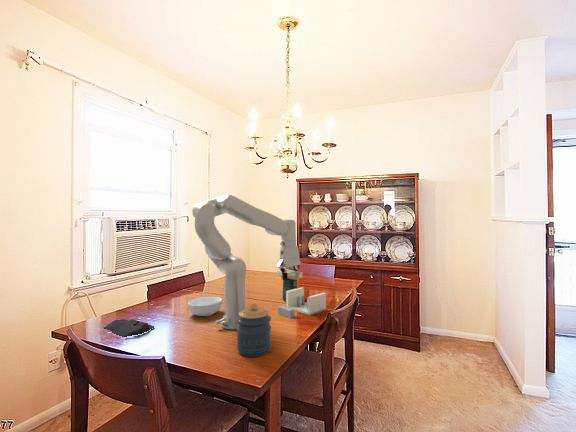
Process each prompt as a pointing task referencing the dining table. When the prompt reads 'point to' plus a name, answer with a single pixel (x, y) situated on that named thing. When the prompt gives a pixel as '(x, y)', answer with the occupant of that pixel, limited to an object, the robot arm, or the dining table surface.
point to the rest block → (286, 311)
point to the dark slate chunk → (128, 327)
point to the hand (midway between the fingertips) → (290, 278)
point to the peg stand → (311, 307)
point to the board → (291, 274)
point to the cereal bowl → (205, 306)
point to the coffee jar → (289, 285)
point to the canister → (254, 331)
